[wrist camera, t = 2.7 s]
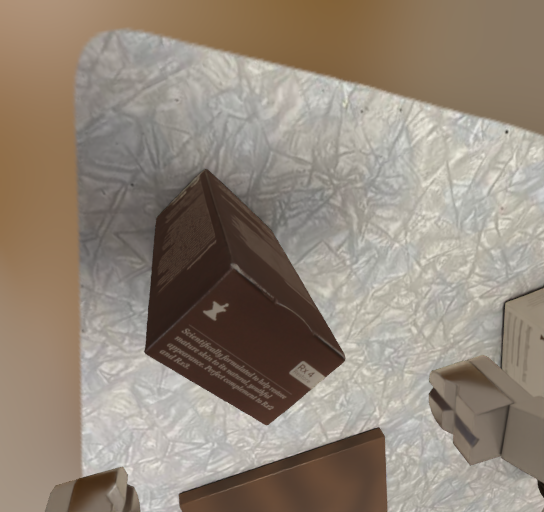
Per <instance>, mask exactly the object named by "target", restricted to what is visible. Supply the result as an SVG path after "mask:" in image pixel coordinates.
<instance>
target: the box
mask: <svg viewBox="0 0 544 512" xmlns="http://www.w3.org/2000/svg"><path fill="white" fill-rule="evenodd" d="M155 227H156V228H155V238H154V250H153V261H152V274H151V286H150V298H149V306H148V321H147V332H146V345H145V351H144V352H145V354H147V355H148V356H150V357H152V358H153V359H155V360H157V361H158V362H160V363H162V364H164V365H165V366H167V367H169V368H170V369H172V370H174V371H175V372H177V373H179V374H180V375H182V376H184V377H185V378H187V379H189V380H190V381H192V382H194V383H195V384H197V385H199V386H201V387H202V388H204V389H206V390H207V391H209V392H211V393H212V394H214V395H216V396H217V397H219V398H221V399H223V400H224V401H226V402H228V403H229V404H231V405H233V406H235V407H236V408H238V409H240V410H241V411H243V412H245V413H246V414H248V415H250V416H252V417H253V418H255V419H256V420H258V421H260V422H261V423H263V424H265V425H269V424H270V423H271V422H272V421H274V420H275V419H276V418H277V417H279V416H280V415H281V414H282V413H284V412H285V411H286V410H287V409H289V408H290V407H291V406H292V405H294V404H295V403H296V402H297V401H298V400H299V399H301V398H302V397H303V396H304V395H305V394H306V393H308V392H309V391H310V390H311V389H312V388H313V387H315V386H316V385H317V384H318V383H319V382H321V381H322V380H323V379H324V378H325V377H327V376H328V375H329V374H330V373H331V372H332V371H334V370H335V369H336V368H337V367H339V366H340V365H341V364H342V363H343V362H344V361H345V355H344V353H343V351H342V349H341V348H340V346H339V344H338V342H337V341H336V339H335V337H334V335H333V334H332V332H331V330H330V328H329V327H328V325H327V323H326V322H325V320H324V318H323V316H322V315H321V313H320V312H319V310H318V308H317V307H316V305H315V303H314V302H313V300H312V298H311V297H310V295H309V293H308V291H307V290H306V288H305V286H304V284H303V283H302V281H301V279H300V278H299V276H298V274H297V272H296V271H295V269H294V267H293V266H292V264H291V262H290V261H289V259H288V257H287V255H286V254H285V252H284V251H283V249H282V247H281V245H280V244H279V242H278V240H277V239H276V237H275V236H274V234H273V232H272V231H271V230H270V229H269V228H268V227H267V226H266V225H265V224H264V223H263V222H262V221H261V220H260V219H259V218H258V217H257V216H256V215H255V214H254V213H253V212H252V211H251V210H250V209H249V208H248V207H247V206H246V205H245V204H244V203H243V202H242V201H241V200H240V199H239V198H237V197H236V196H235V195H234V194H233V193H232V192H231V191H230V190H229V189H228V188H227V187H226V186H225V185H224V184H223V183H221V182H220V181H219V180H218V179H217V178H216V177H215V176H214V175H213V174H212V173H211V172H210V171H208V170H207V169H205V170H203V171H202V172H201V173H200V174H199V175H198V176H196V177H195V178H194V179H193V181H192V182H191V183H190V184H189V185H188V186H187V187H186V188H185V189H184V190H182V192H181V193H180V194H179V195H178V196H177V197H176V198H175V199H174V200H173V201H172V202H171V203H170V205H169V206H168V207H167V208H166V209H165V210H164V211H163V212H162V213H161V214H160V215H159V216H158V217H157V218H156V225H155Z"/></svg>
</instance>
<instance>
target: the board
mask: <svg viewBox="0 0 544 512" xmlns="http://www.w3.org/2000/svg"><path fill="white" fill-rule="evenodd" d="M179 505H180V508H181V510H182V512H387V486H386V457H385V436H384V434H383V432H382V431H381V429H380V428H377V429H374V430H371V431H368V432H365V433H362V434H359V435H356V436H353V437H350V438H347V439H344V440H341V441H338V442H335V443H332V444H329V445H326V446H323V447H320V448H317V449H314V450H311V451H308V452H305V453H302V454H299V455H296V456H293V457H290V458H287V459H284V460H281V461H278V462H275V463H272V464H269V465H266V466H263V467H260V468H257V469H254V470H251V471H248V472H245V473H242V474H239V475H236V476H233V477H230V478H227V479H224V480H221V481H218V482H214V483H211V484H208V485H205V486H202V487H199V488H196V489H193V490H190V491H187V492H184V493H181V494H179Z"/></svg>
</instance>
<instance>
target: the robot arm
mask: <svg viewBox="0 0 544 512" xmlns="http://www.w3.org/2000/svg"><path fill="white" fill-rule="evenodd" d="M429 382H430V383H431V385H432V386H433V389H432V390H431V391H430V393H429V405H430V408H431V412H432V414H433V416H434V418H435V420H436V421H437V423H438V424H439V425H440V427H441V428H442V429H443V430H445V431H447V432H449V433H451V434H453V444H454V445H455V446H456V448H457V449H458V450H459V452H460V453H461V454H462V455H463V457H464V458H465V459H466V461H467V462H468V463H469V464H470V465H474V464H477V463H480V462H483V461H486V460H490V459H493V458H496V457H499V456H501V458H502V459H504V460H506V461H507V462H509V463H511V464H512V465H514V466H516V467H517V468H519V469H521V470H522V471H524V472H526V473H527V474H529V475H531V476H532V477H534V478H536V479H537V480H539V481H541V482H543V483H544V397H541V396H536V397H533V396H532V395H531V394H529V393H528V392H527V391H526V390H525V389H524V388H523V387H522V386H520V385H519V384H518V383H517V382H516V381H515V380H514V379H512V378H511V377H510V376H509V375H508V374H507V373H506V372H504V371H503V370H502V369H501V368H500V367H499V366H498V365H496V364H495V363H494V362H493V361H492V360H491V359H490V358H488V357H487V356H484V355H481V356H478V357H475V358H471V359H468V360H465V361H461V362H458V363H454V364H451V365H448V366H445V367H442V368H439V369H436V370H433V371H431V373H430V376H429ZM127 480H128V474H127V473H126V471H125V469H124V467H119V468H115V469H112V470H108V471H104V472H101V473H97V474H94V475H90V476H86V477H83V478H79V479H76V480H73V481H69V482H66V483H63V484H59V485H56V486H55V487H54V489H53V490H52V492H51V493H50V497H49V500H48V503H47V507H46V510H45V512H140V503H139V499H138V495H137V492H136V490H135V488H134V487H133V486H130V485H128V484H127Z"/></svg>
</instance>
